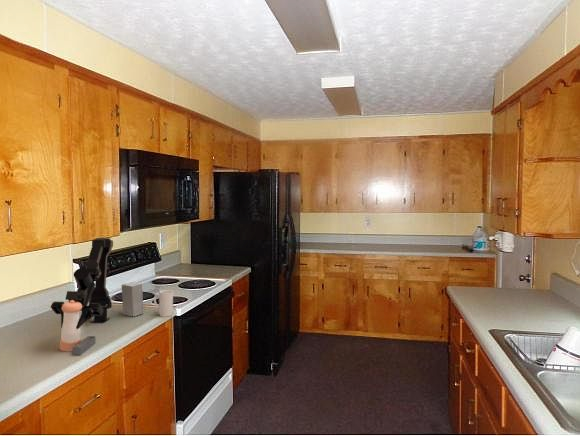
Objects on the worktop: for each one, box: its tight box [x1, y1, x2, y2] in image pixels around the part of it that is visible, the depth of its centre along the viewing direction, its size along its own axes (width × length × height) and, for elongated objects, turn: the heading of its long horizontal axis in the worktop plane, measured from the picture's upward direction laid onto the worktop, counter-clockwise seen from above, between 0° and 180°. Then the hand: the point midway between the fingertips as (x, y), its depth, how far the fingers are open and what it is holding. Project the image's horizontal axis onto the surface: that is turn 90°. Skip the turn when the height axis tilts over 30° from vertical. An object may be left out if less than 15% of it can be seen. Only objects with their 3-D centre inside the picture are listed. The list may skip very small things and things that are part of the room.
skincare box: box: [121, 281, 144, 318], centre depth 204 cm, size 8×7×16 cm
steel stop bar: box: [72, 335, 96, 356], centre depth 158 cm, size 12×3×3 cm, turn 1°
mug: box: [153, 289, 174, 318], centre depth 205 cm, size 10×7×12 cm, turn 78°
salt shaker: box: [59, 300, 82, 352], centre depth 157 cm, size 7×7×19 cm
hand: (69, 328), depth 156 cm, fingers closed on salt shaker, 5 cm apart
